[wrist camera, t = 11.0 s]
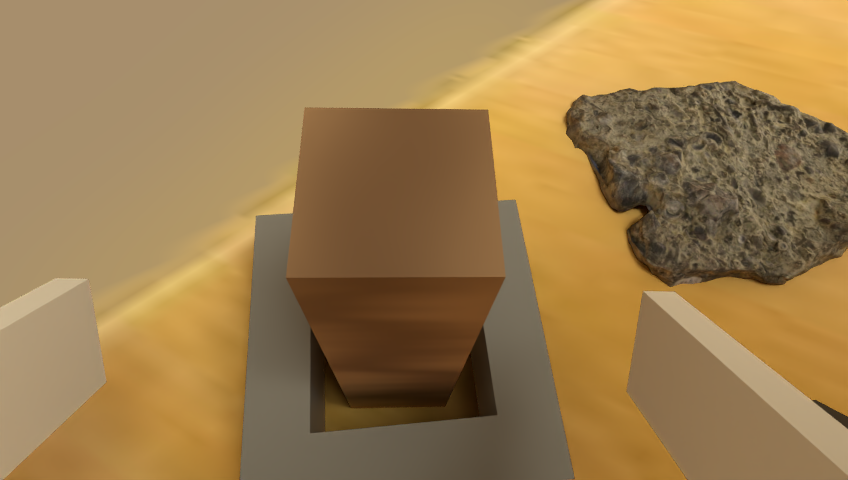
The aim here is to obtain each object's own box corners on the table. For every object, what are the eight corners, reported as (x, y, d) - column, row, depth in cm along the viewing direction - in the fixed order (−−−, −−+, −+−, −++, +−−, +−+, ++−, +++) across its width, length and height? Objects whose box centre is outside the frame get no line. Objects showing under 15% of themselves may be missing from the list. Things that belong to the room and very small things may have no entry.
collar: (499, 241, 26) (515, 199, 22) (544, 483, 21) (574, 478, 17) (276, 257, 25) (256, 215, 21) (266, 513, 20) (237, 516, 16)
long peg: (441, 317, 24) (487, 109, 11) (444, 406, 22) (505, 276, 9) (355, 317, 23) (304, 107, 11) (351, 408, 22) (285, 277, 9)
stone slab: (916, 282, 26) (975, 256, 24) (602, 297, 25) (628, 271, 22) (812, 101, 32) (850, 64, 29) (553, 105, 31) (569, 67, 28)
